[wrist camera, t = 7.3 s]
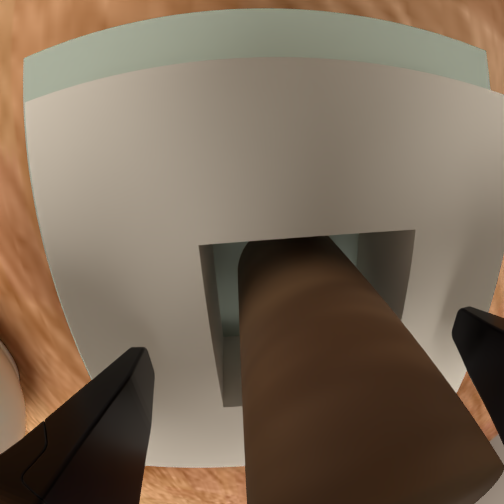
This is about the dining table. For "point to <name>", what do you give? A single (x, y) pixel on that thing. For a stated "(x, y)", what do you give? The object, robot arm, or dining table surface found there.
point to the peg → (344, 390)
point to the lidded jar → (10, 402)
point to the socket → (256, 188)
